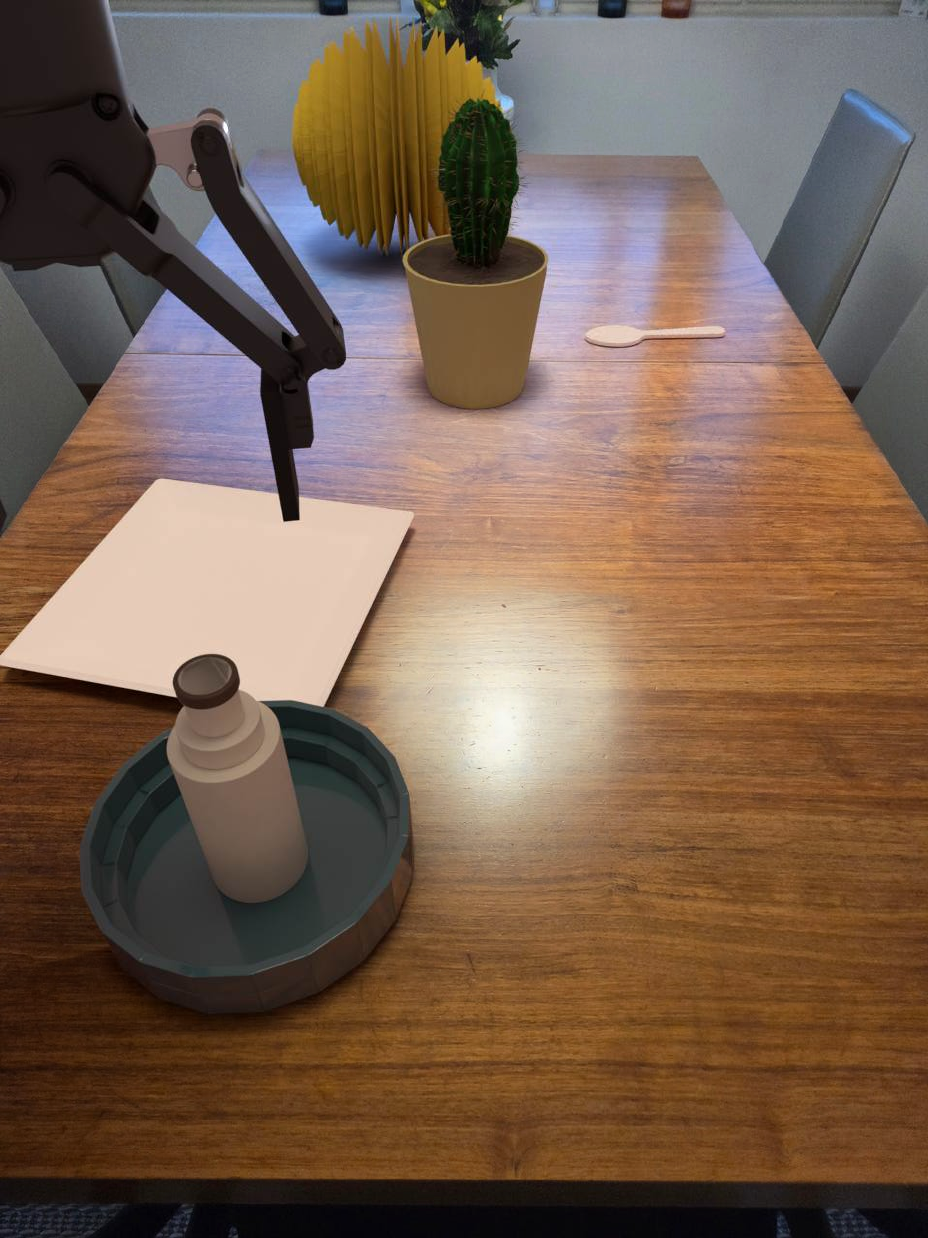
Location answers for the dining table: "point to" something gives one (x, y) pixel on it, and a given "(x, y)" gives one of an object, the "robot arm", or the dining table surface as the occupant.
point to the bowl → (252, 932)
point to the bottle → (236, 782)
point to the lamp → (381, 132)
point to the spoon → (645, 334)
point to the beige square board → (218, 592)
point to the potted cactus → (476, 269)
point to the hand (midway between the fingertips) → (144, 519)
